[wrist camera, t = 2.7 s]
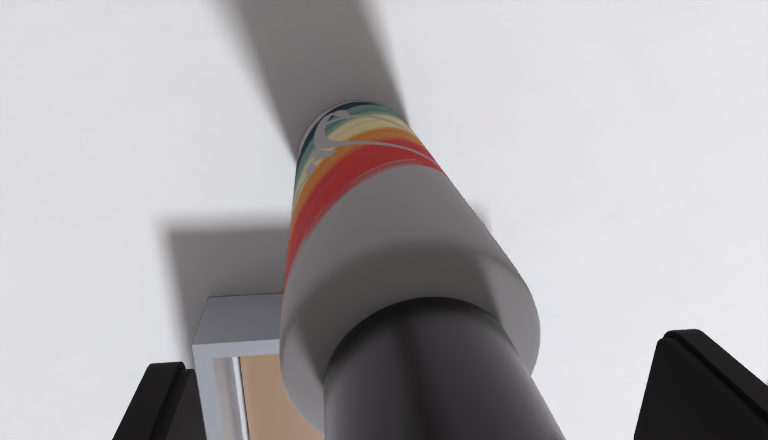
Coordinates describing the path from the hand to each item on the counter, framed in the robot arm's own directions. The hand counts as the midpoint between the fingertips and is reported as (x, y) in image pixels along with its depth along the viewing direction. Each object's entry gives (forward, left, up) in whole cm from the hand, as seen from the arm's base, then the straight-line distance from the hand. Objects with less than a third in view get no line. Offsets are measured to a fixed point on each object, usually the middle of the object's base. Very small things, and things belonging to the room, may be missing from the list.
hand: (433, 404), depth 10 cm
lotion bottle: (-1, 0, -16) cm, 16 cm away
